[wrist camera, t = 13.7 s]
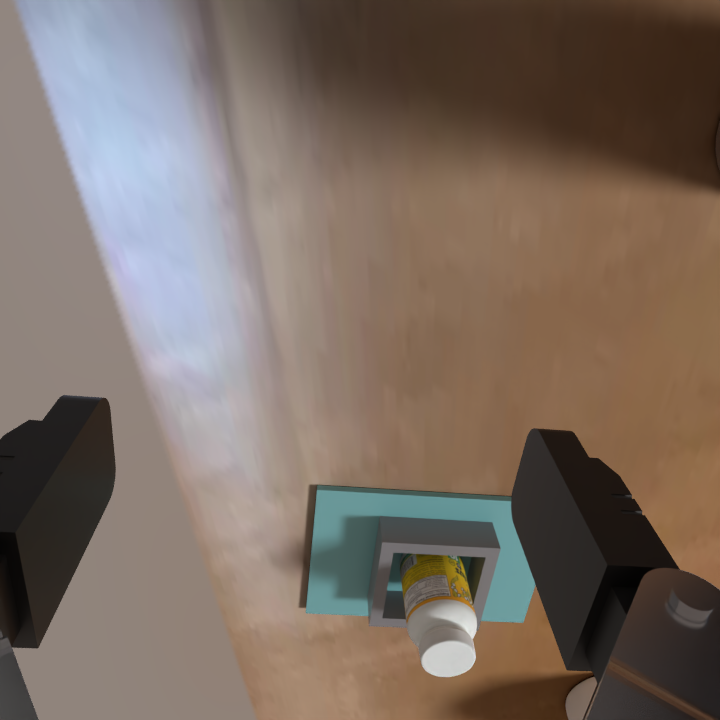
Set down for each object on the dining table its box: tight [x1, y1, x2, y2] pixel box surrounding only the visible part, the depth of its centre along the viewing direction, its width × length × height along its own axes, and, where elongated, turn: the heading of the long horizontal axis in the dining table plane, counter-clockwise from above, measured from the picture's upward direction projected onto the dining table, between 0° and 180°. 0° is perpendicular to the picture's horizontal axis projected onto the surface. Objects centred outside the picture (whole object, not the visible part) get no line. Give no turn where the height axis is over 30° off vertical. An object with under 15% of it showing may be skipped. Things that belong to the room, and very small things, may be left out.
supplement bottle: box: [400, 553, 477, 677], centre depth 49 cm, size 5×5×10 cm
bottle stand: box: [306, 485, 535, 631], centre depth 53 cm, size 20×14×4 cm
